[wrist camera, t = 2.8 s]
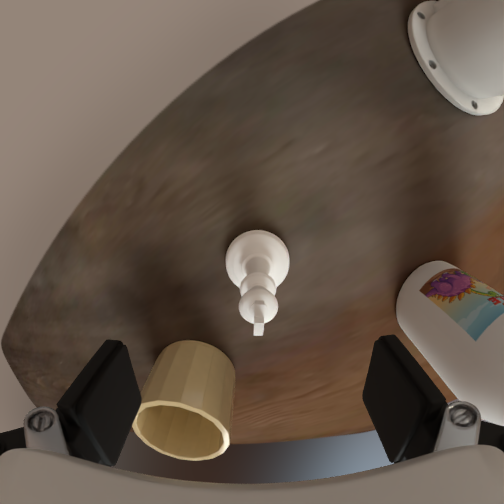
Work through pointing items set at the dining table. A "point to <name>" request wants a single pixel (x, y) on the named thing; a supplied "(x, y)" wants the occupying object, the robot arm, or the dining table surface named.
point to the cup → (188, 402)
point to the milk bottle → (458, 332)
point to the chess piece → (257, 274)
